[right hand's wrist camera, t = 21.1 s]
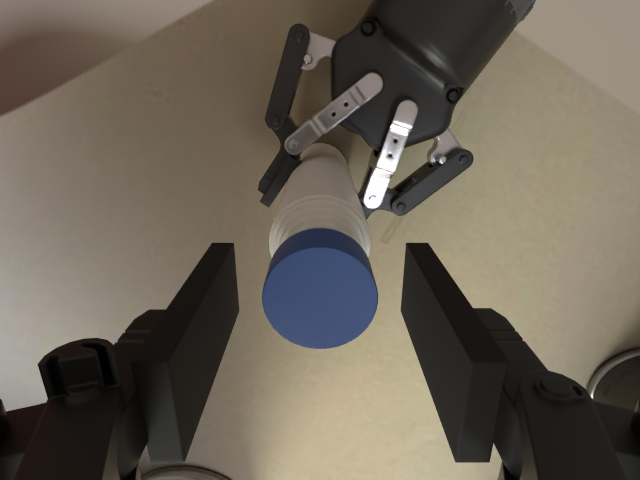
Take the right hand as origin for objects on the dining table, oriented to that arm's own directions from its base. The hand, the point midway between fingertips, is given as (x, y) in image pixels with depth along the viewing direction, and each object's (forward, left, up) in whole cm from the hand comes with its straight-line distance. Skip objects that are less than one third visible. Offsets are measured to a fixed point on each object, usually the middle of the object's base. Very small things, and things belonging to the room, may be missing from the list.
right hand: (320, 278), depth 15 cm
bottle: (0, 0, -20) cm, 20 cm away
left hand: (-1, +2, -13) cm, 14 cm away
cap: (0, 0, +1) cm, 1 cm away
